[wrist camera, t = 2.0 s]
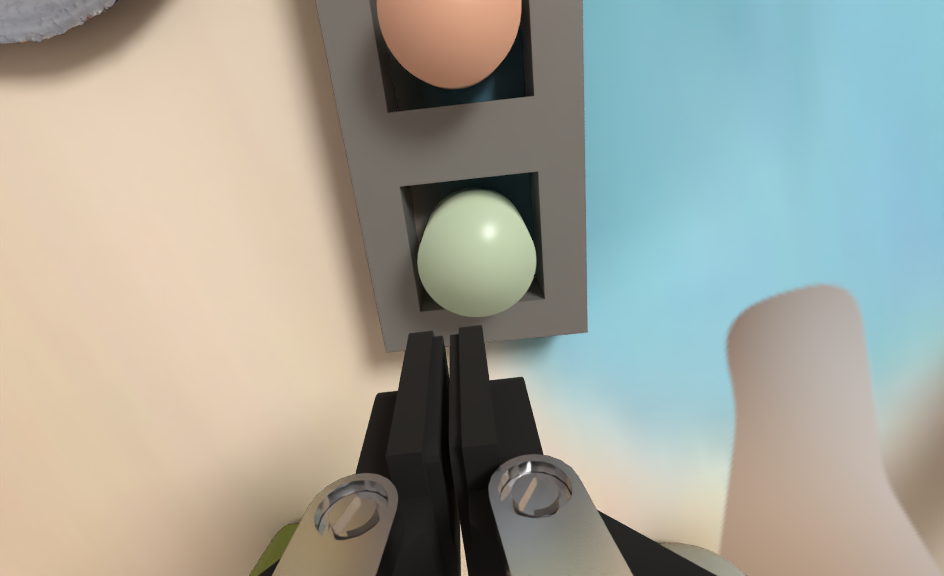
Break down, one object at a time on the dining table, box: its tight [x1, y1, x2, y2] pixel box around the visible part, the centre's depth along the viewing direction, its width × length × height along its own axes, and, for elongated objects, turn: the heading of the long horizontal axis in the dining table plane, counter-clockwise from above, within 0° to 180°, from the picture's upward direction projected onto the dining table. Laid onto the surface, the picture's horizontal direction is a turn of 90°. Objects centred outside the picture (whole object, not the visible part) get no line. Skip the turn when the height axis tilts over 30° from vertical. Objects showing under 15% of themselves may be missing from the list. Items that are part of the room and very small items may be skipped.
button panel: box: [316, 0, 588, 352], centre depth 19 cm, size 10×28×3 cm, turn 6°
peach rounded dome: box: [377, 0, 521, 90], centre depth 17 cm, size 5×5×4 cm
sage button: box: [417, 187, 536, 317], centre depth 21 cm, size 5×5×4 cm
